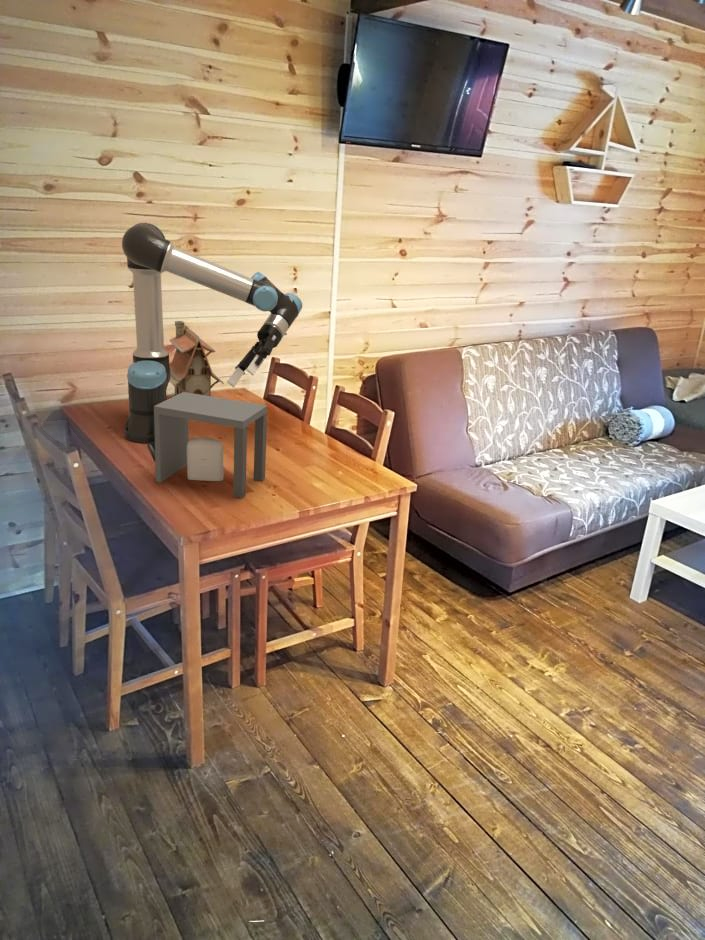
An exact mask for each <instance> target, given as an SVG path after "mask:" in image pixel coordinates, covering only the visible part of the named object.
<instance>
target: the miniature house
mask: <svg viewBox="0 0 705 940" xmlns="http://www.w3.org/2000/svg"><path fill="white" fill-rule="evenodd" d="M174 326H175V337H173V338H171V339H169V342H170V343H171V345H172V346H173V347H175V352H174V355H173V357H172V361H171V362H169V365H170V368H171V378H170V381H169V383H170V384H171V385H172V386H173V387H174V394H173V395H172V397H174V396H176V395H178V394H180V393H182V392H187V393H193V394H199V395H205V396H212V395H211V393H212V391H211V390H212V388H213V387H214V386H216V384H218V383H221V384H222V385H224V382H223V381H222V380H221V379H220V377H218V376H217V375H216V374H215V373H214V372H213V370H212V367H211V364H210V362H209V360H208V356H209V355H211V353H216V350H215V349H214V348H213V347H211V346H210V345H209V344H208V343H207V342H206V341H204V340H203V339H202V338H200V336H198V335H197V334H196V333H195V332H194V330H192V329H190V328H189V327H188V326H187V325H185V321H184V320H174ZM205 350H206V351H207V353H206V351H205ZM212 378H213V379H214V380H215V381H214V382H213V383H211V382H212Z"/></svg>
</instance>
